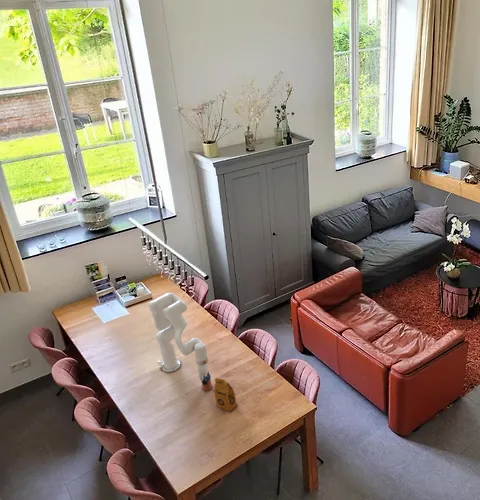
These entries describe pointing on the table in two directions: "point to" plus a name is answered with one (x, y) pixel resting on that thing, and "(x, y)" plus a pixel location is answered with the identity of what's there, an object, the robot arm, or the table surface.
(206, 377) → the lid
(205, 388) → the jar
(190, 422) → the table surface
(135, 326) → the table surface
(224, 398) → the coffee package
